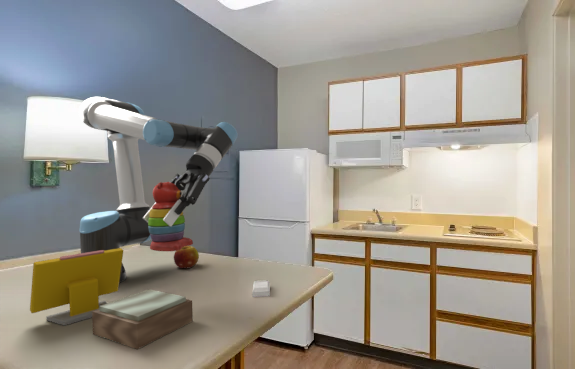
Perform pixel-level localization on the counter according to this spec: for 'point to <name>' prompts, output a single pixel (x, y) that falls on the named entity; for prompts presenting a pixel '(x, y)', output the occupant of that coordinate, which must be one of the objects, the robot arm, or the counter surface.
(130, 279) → the counter surface
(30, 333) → the counter surface
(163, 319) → the plinth
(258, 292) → the white beveled block
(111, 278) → the toy computer monitor
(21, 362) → the counter surface
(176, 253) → the fruit
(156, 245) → the stacking bear
